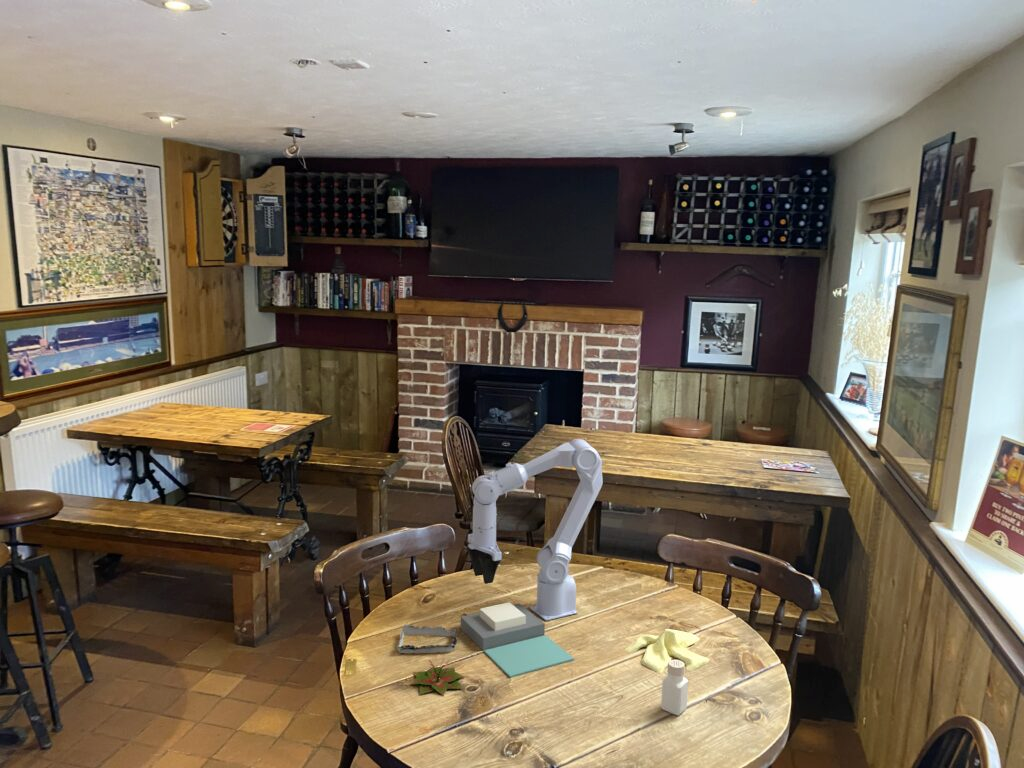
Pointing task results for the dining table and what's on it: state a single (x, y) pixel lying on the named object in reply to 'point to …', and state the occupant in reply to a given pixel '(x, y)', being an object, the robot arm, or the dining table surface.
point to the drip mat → (528, 656)
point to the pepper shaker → (675, 688)
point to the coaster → (502, 616)
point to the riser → (492, 638)
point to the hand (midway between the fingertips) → (483, 578)
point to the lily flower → (436, 672)
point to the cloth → (668, 650)
